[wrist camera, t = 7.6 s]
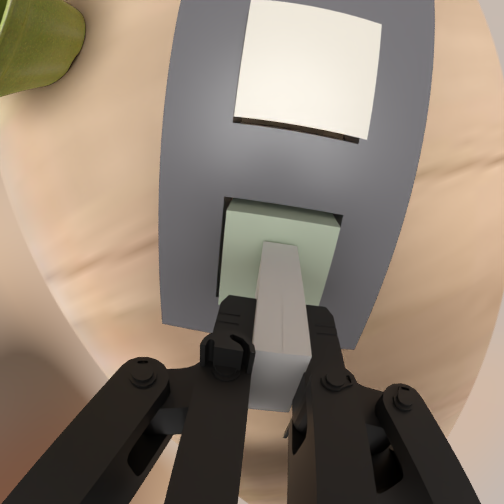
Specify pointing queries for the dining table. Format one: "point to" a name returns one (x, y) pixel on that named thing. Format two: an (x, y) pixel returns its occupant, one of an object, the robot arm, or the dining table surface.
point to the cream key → (308, 67)
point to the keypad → (286, 159)
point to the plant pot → (37, 42)
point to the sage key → (277, 231)
